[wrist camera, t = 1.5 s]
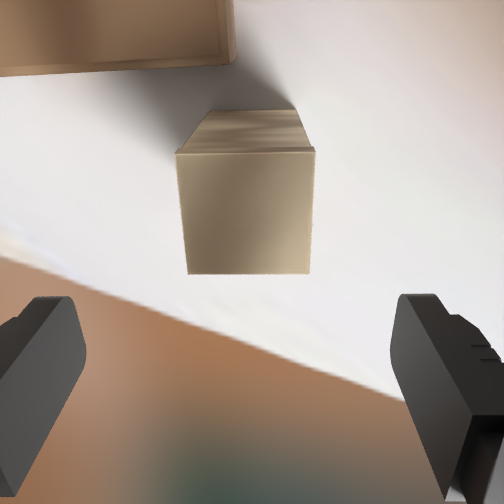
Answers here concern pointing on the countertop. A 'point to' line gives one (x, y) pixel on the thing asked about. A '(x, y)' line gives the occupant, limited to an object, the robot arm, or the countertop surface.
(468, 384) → the robot arm
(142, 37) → the walnut box
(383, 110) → the countertop surface
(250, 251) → the oak block
